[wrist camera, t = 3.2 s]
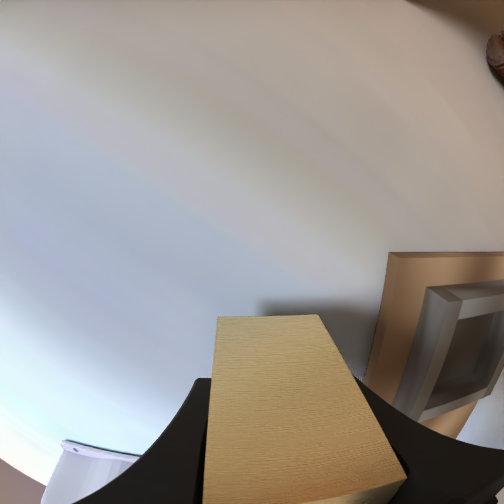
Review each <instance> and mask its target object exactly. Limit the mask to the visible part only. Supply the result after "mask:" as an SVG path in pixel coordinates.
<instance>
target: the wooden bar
mask: <svg viewBox="0 0 504 504" xmlns="http://www.w3.org/2000/svg"><path fill="white" fill-rule="evenodd" d="M406 479H407V476H406V474H405V472H404V470H403V468H402V467H401V465H400V463H399V461H398V459H397V457H396V455H395V453H394V451H393V449H392V447H391V446H390V444H389V442H388V440H387V438H386V436H385V434H384V432H383V430H382V429H381V427H380V425H379V423H378V421H377V419H376V417H375V416H374V414H373V412H372V410H371V408H370V406H369V405H368V403H367V401H366V399H365V397H364V395H363V394H362V392H361V390H360V388H359V386H358V385H357V383H356V381H355V379H354V377H353V376H352V374H351V372H350V370H349V368H348V367H347V365H346V363H345V361H344V359H343V358H342V356H341V354H340V352H339V351H338V349H337V347H336V345H335V344H334V342H333V340H332V338H331V337H330V335H329V333H328V331H327V330H326V328H325V326H324V324H323V323H322V321H321V319H320V317H319V316H318V314H314V315H290V316H240V317H218V319H217V328H216V338H215V348H214V358H213V369H212V380H211V391H210V403H209V415H208V428H207V441H206V456H205V471H204V487H203V504H387V503H388V502H389V501H390V500H391V498H392V497H393V496H394V495H395V493H396V492H397V491H398V489H399V488H400V487H401V485H402V484H403V483H404V481H405V480H406Z"/></svg>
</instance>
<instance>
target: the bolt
mask: <svg viewBox="0 0 504 504" xmlns="http://www.w3.org/2000/svg"><path fill="white" fill-rule="evenodd" d="M501 33H502V36H503V38H502V37H501V36H500V35H498V36H497V35H492V36H491V37H490V38H489V41H488V44H487V60H488V62H489V63H490V64H491V66H492V67H493V68H494V69H495V70H496V71H497V72H498V73H499V74H500V75H501V76H502V77H503V79H504V31H501Z"/></svg>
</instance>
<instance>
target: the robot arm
mask: <svg viewBox="0 0 504 504" xmlns="http://www.w3.org/2000/svg"><path fill="white" fill-rule="evenodd" d="M352 376H353V377H354V379H355V381H356V383H357V385H358V386H359V388H360V390H361V392H362V394H363V395H364V397H365V399H366V401H367V403H368V405H369V406H370V408H371V410H372V412H373V414H374V416H375V417H376V419H377V421H378V423H379V425H380V427H381V429H382V430H383V432H384V434H385V436H386V438H387V440H388V442H389V444H390V446H391V447H392V449H393V451H394V453H395V455H396V457H397V459H398V461H399V463H400V465H401V467H402V468H403V470H404V472H405V474H406V476H407V479H406V480H405V481H404V483H403V484H402V485H401V487H400V488H399V489H398V491H397V492H396V493H395V495H394V496H393V497H392V498H391V500H390V501H389V502H388V503H387V504H497V503H498V500H497V498H496V497H495V495H496V494H497V493H498V492H499V491H500V490H501V489H502V488H503V487H504V450H501V449H493V448H487V447H481V446H477V445H473V444H469V443H465V442H462V441H459V440H456V439H453V438H450V437H448V436H445V435H443V434H440V433H438V432H436V431H433V430H431V429H429V428H427V427H425V426H424V425H422V424H420V423H418V422H416V421H414V420H413V419H411V418H409V417H408V416H406V415H405V414H403V413H402V412H400V411H399V410H397V409H396V408H394V407H393V406H391V405H390V404H389V403H387V402H386V401H385V400H383V399H382V398H381V397H379V396H378V395H377V394H376V393H374V392H373V391H372V390H371V389H369V388H368V387H367V386H366V385H364V384H363V383H362V382H361V381H360V380H359V379H357V378H356V377H355V376H354V375H352ZM211 380H212V378H198V379H196V380H195V382H194V385H193V387H192V389H191V391H190V392H189V394H188V396H187V398H186V400H185V401H184V403H183V405H182V406H181V408H180V409H179V411H178V412H177V414H176V415H175V417H174V418H173V420H172V421H171V422H170V424H169V425H168V426H167V428H166V429H165V430H164V431H163V433H162V434H161V435H160V437H159V438H158V439H157V440H156V441H155V442H154V443H153V445H152V446H151V447H150V448H149V449H148V450H147V451H146V452H145V453H144V454H143V455H142V456H141V457H136V456H130V455H125V454H119V453H114V452H109V451H104V450H100V449H96V448H91V447H87V446H83V445H80V444H76V443H72V442H69V441H65V440H62V442H61V446H62V448H63V449H64V451H63V453H62V455H61V457H60V459H59V461H58V463H57V465H56V467H55V470H54V472H53V474H52V476H51V478H50V481H49V483H48V485H47V488H46V490H45V492H44V494H43V497H42V500H41V504H203V487H204V471H205V456H206V441H207V428H208V415H209V403H210V391H211Z"/></svg>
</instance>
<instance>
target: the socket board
mask: <svg viewBox="0 0 504 504" xmlns="http://www.w3.org/2000/svg"><path fill="white" fill-rule="evenodd" d="M503 367H504V252H389V255H388V263H387V270H386V277H385V283H384V289H383V295H382V301H381V306H380V312H379V317H378V322H377V327H376V331H375V336H374V340H373V345H372V349H371V353H370V357H369V361H368V365H367V369H366V373H365V377H364V380H363V384H364V385H366V386H367V387H368V388H369V389H371V390H372V391H373V392H374V393H376V394H377V395H378V396H379V397H381V398H382V399H383V400H385V401H386V402H387V403H389V404H390V405H391V406H393V407H394V408H396V409H397V410H399V411H400V412H402V413H403V414H405V415H406V416H408V417H409V418H411V419H413V420H414V421H416V422H418V423H420V424H422V425H424V426H425V427H427V428H429V429H431V430H433V431H436V432H438V433H440V434H443V435H445V436H448V437H450V438H453V439H456V438H457V436H458V434H459V433H460V431H461V430H462V428H463V426H464V425H465V423H466V421H467V420H468V418H469V416H470V414H471V413H472V411H473V409H474V407H475V405H476V404H477V402H478V400H479V399H481V398H484V397H486V396H488V395H490V394H491V392H492V390H493V388H494V386H495V384H496V382H497V380H498V378H499V376H500V374H501V371H502V369H503Z"/></svg>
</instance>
